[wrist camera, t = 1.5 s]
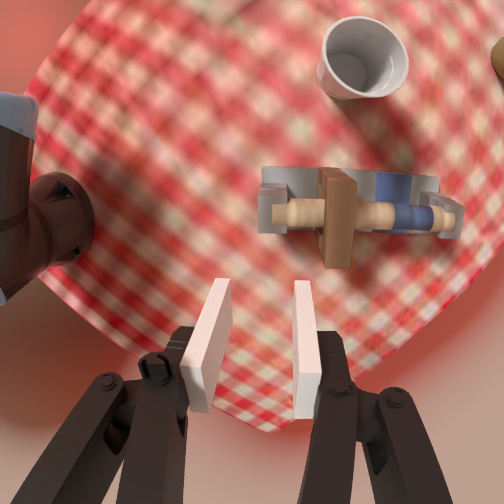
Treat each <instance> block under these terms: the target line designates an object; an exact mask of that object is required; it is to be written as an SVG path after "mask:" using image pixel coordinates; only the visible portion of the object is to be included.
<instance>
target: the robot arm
mask: <svg viewBox="0 0 504 504" xmlns="http://www.w3.org/2000/svg"><path fill="white" fill-rule="evenodd" d="M37 118H38V105H37V102H36V101H35V100H34V99H33V98H31V97H29V96H25V95H20V94H14V93H8V92H1V91H0V305H4V304H5V303H6V302H7V301H8V300H9V299H10V298H11V297H12V296H14V295H15V294H16V293H17V292H18V291H19V290H21V289H22V288H23V287H24V286H25V285H27V284H28V283H29V282H30V281H31V280H33V279H34V278H35V277H36V276H38V275H39V274H40V273H41V272H42V271H44V270H45V269H47V268H51V267H56V266H61V265H66V264H69V263H72V262H74V261H75V260H77V259H78V258H79V257H81V256H82V255H83V254H84V253H85V252H86V251H87V250H88V248H89V247H90V245H91V242H92V239H93V235H94V216H93V211H92V207H91V204H90V201H89V199H88V197H87V195H86V193H85V191H84V190H83V188H82V187H81V186H80V185H79V184H78V182H77V181H75V180H74V179H73V178H72V177H70V176H68V175H66V174H64V173H60V172H52V173H48V174H45V175H42V176H40V177H38V178H36V179H35V180H34V181H32V182H31V183H30V175H31V165H32V157H33V150H34V143H35V140H36V138H37V136H36V126H37ZM232 322H233V321H232V305H231V289H230V279H224V278H215V281H214V283H213V286H212V288H211V290H210V293H209V295H208V297H207V300H206V302H205V305H204V307H203V309H202V312H201V314H200V317H199V319H198V321H197V324H196V326H195V327H187V326H180V327H179V328H178V329H177V330H176V331H174V332H173V334H172V336H171V338H170V341H169V342H168V344H167V348H166V349H165V351H164V353H162V352H153V353H149V354H147V355H145V356H143V357H142V358H141V359H140V360H139V362H138V366H139V369H140V372H141V374H142V377H143V379H139V380H131V381H123V378H122V377H121V376H120V375H118V374H117V373H111V372H108V373H103V374H101V375H99V376H98V377H97V378H96V379H95V380H94V381H93V382H92V384H91V385H90V386H89V388H88V389H87V390H86V392H85V393H84V395H83V396H82V397H81V399H80V400H79V401H78V403H77V404H76V406H75V407H74V408H73V410H72V411H71V413H70V414H69V415H68V417H67V418H66V420H65V421H64V423H63V424H62V426H61V427H60V428H59V430H58V432H57V433H56V434H55V435H54V437H53V438H52V440H51V441H50V443H49V444H48V446H47V447H46V449H45V450H44V452H43V453H42V455H41V456H40V458H39V460H38V461H37V462H36V464H35V465H34V467H33V468H32V470H31V471H30V473H29V475H28V476H27V478H26V480H25V481H24V482H23V484H22V486H21V487H20V489H19V490H18V492H17V494H16V495H15V497H14V499H13V500H12V502H11V503H10V504H101V503H102V501H103V499H104V497H105V495H106V493H107V491H108V489H109V487H110V485H111V483H112V481H113V479H114V477H115V475H116V473H117V471H118V469H119V467H120V465H121V463H122V462H123V460H124V462H123V468H122V472H121V478H120V483H119V489H118V494H117V500H116V504H183V487H184V470H185V455H186V439H187V427H188V417H187V413H186V412H187V409H188V406H189V405H190V409H191V411H192V412H200V413H210V409H211V405H212V401H213V397H214V393H215V389H216V385H217V381H218V377H219V373H220V369H221V365H222V361H223V357H224V353H225V349H226V345H227V341H228V337H229V334H230V330H231V326H232ZM292 333H293V419H312V418H313V414H314V424H313V429H312V433H311V440H310V446H309V451H308V456H307V461H306V466H305V471H304V475H303V480H302V485H301V489H300V493H299V498H298V502H297V504H350V498H351V490H352V481H353V470H354V459H355V446H356V441H358V442H361V443H362V447H363V450H364V455H365V459H366V463H367V468H368V472H369V476H370V480H371V485H372V489H373V494H374V499H375V504H453V502H452V499H451V496H450V493H449V491H448V487H447V484H446V482H445V479H444V476H443V473H442V471H441V468H440V465H439V463H438V460H437V457H436V455H435V452H434V449H433V447H432V444H431V442H430V439H429V437H428V434H427V432H426V430H425V427H424V425H423V422H422V420H421V418H420V415H419V413H418V411H417V408H416V406H415V404H414V402H413V399H412V397H411V396H410V395H409V393H408V392H407V391H405V390H404V389H401V388H398V387H389V388H386V389H384V390H383V391H382V392H380V394H375V393H369V392H366V391H363V390H361V389H359V388H357V386H356V385H355V384H354V382H353V381H352V380H351V378H350V373H349V368H348V363H347V359H346V355H345V350H344V345H343V341H342V338H341V337H340V335H339V334H338V333H337V332H336V331H317V330H316V323H315V315H314V308H313V301H312V294H311V288H310V281H305V280H295V285H294V303H293V320H292Z"/></svg>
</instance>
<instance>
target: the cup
mask: <svg viewBox="0 0 504 504" xmlns="http://www.w3.org/2000/svg"><path fill="white" fill-rule="evenodd" d="M408 70H409V59H408V54H407V51H406V48H405V46H404V44H403V42H402V41H401V39H400V38H399V37H398V35H397V34H396V33H395V32H394V31H393V30H392V29H390V28H389V27H388V26H386V25H385V24H383V23H382V22H380V21H377V20H375V19H372V18H368V17H363V16H352V17H347V18H344V19H341V20H339V21H338V22H336V23H335V24H333V25H332V26H331V27H330V28H329V30H328V31H327V33H326V35H325V37H324V40H323V46H322V52H321V60H320V63H319V65H318V68H317V79H318V82H319V84H320V86H321V88H322V89H323V90H324V91H325V92H326V93H327V94H328V95H330V96H332V97H334V98H336V99H341V100H349V99H353V98H377V97H384V96H387V95H390V94H392V93H394V92H395V91H397V90H398V89H399V88H400V87H401V86H402V85H403V83H404V82H405V80H406V77H407V75H408Z"/></svg>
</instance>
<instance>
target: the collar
mask: <svg viewBox="0 0 504 504" xmlns="http://www.w3.org/2000/svg"><path fill="white" fill-rule="evenodd" d="M357 185H358V182H357V181H355V180H354V179H353V178H351V177H350V176H349V175H347V174H346V173H344V172H343V171H342V170H340V169H339V168H330V167H318V178H317V199H325V209H324V227H323V228H322V227H316V228H315V235H316V238H317V242H318V245H319V249H320V252H321V256H322V260H323V263H324V267H325V268H329V269H350V263H351V254H352V245H353V235H354V225H355V213H356V200H357Z"/></svg>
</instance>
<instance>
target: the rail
mask: <svg viewBox="0 0 504 504" xmlns="http://www.w3.org/2000/svg"><path fill="white" fill-rule="evenodd" d="M339 169H340V168H339ZM340 170H342V171H343V172H344V173H346V174H347V175H349V176H350V177H351V178H353V179H354V180H355V181H357V182H358V185H357V200H356V213H355V225H354V231H362V232H383V233H414V234H433V233H434V234H435V235H436V236H438V237H439V238H444V239H460V234H461V229H462V223H463V218H464V211H465V206H463V205H461V204H459V203H458V202H456V201H454V200H452V199H450V198H448V197H446V196H444V195H442V194H440V193H439V184H440V178H438V177H432V176H424V175H415V174H405V173H395V172H384V171H371V170H357V169H340ZM317 178H318V167H270V166H262V184H261V187H260V190H259V193H258V196H257V199H258V233H282V234H287V230H315V228H316V227H322V228H323V227H324V209H325V199H317Z"/></svg>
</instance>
